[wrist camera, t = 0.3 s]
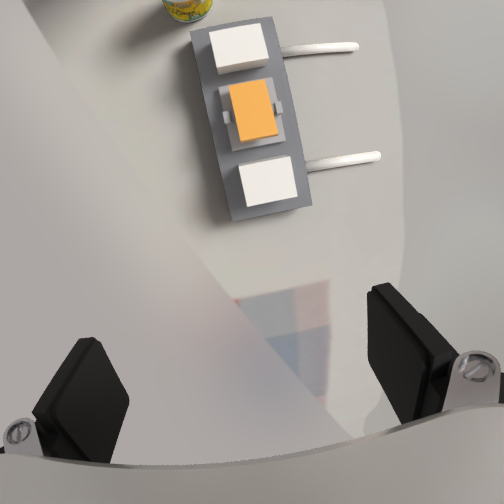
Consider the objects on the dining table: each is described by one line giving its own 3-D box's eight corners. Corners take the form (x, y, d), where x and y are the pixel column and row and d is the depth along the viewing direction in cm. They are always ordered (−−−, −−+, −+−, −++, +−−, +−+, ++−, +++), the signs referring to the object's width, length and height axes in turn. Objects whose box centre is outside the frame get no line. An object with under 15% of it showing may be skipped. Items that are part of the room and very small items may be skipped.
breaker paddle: (227, 91, 29) (226, 86, 28) (266, 84, 29) (266, 78, 28) (239, 144, 30) (238, 141, 28) (279, 136, 30) (280, 133, 28)
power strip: (193, 39, 30) (184, 20, 24) (349, 20, 30) (368, 1, 24) (232, 215, 38) (231, 230, 32) (382, 186, 37) (407, 195, 31)
